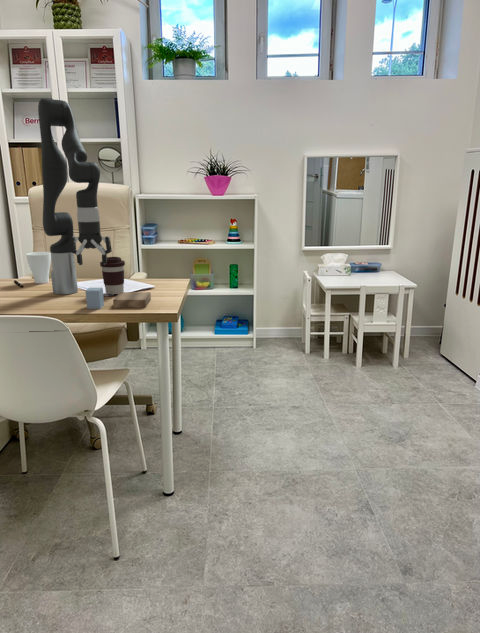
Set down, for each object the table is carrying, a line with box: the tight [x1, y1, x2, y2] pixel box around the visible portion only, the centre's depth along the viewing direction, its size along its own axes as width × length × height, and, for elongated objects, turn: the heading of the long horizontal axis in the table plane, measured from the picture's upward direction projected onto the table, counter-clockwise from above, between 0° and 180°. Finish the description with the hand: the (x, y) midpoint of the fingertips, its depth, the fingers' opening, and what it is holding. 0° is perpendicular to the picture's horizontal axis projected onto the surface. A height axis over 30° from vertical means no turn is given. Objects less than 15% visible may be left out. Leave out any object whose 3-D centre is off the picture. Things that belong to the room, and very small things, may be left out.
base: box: [112, 291, 152, 309], centre depth 186 cm, size 12×12×3 cm
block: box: [85, 287, 105, 310], centre depth 180 cm, size 5×5×7 cm
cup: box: [25, 251, 52, 285], centre depth 221 cm, size 10×10×14 cm
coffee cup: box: [99, 256, 126, 295], centre depth 200 cm, size 10×10×15 cm
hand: (92, 264), depth 177 cm, fingers open, 8 cm apart
